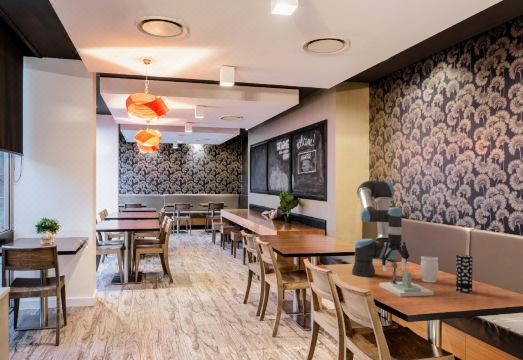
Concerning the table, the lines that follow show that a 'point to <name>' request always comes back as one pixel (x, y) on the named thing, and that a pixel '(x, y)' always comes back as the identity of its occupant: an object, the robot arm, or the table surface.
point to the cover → (406, 283)
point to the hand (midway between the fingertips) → (394, 270)
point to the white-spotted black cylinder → (464, 273)
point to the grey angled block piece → (395, 272)
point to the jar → (429, 268)
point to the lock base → (400, 293)
